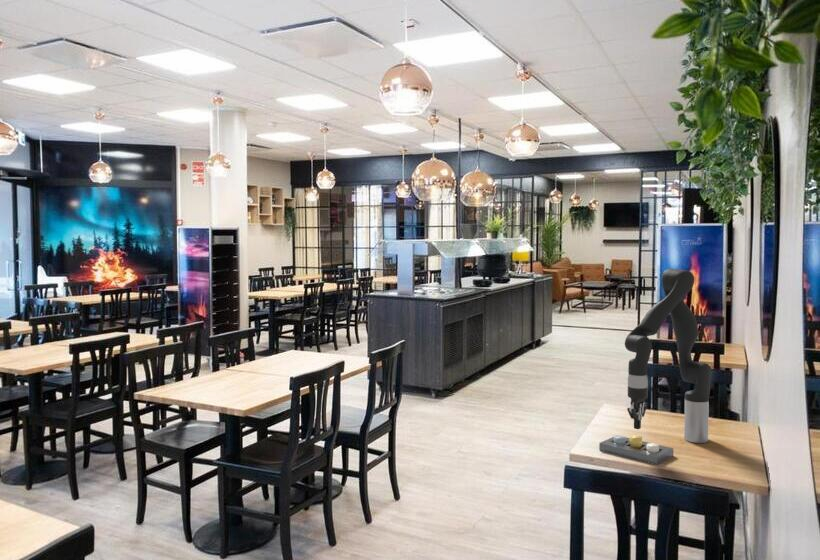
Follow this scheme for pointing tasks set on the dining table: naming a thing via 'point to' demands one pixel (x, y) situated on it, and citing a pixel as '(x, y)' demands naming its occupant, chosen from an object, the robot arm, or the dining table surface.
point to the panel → (636, 451)
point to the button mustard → (636, 441)
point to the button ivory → (652, 447)
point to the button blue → (619, 440)
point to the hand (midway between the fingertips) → (637, 428)
